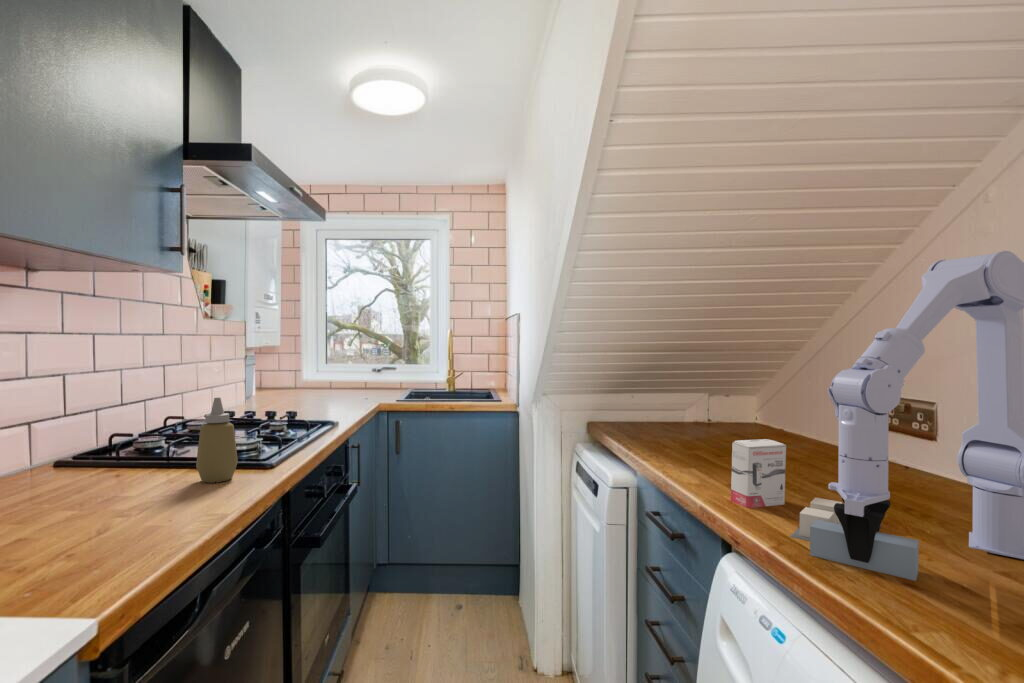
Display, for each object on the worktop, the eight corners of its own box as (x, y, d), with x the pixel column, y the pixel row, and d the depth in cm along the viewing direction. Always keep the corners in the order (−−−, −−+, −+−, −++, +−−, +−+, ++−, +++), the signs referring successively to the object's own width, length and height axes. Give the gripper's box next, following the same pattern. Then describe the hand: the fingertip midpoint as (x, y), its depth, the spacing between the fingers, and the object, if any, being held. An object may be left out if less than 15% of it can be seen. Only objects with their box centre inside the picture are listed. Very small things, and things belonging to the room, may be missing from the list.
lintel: (816, 550, 78) (816, 519, 78) (918, 573, 70) (918, 540, 70) (810, 558, 75) (810, 526, 75) (916, 583, 67) (916, 548, 67)
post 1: (842, 523, 88) (842, 502, 88) (837, 529, 85) (837, 507, 85) (815, 517, 91) (815, 497, 91) (809, 523, 88) (810, 502, 88)
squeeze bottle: (201, 476, 118) (201, 396, 118) (241, 474, 120) (241, 395, 120) (191, 486, 110) (191, 400, 110) (234, 483, 113) (234, 399, 113)
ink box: (748, 511, 96) (748, 445, 96) (729, 502, 100) (730, 440, 100) (787, 506, 98) (787, 443, 98) (767, 499, 103) (767, 438, 103)
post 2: (834, 534, 83) (834, 512, 83) (828, 541, 80) (828, 518, 80) (805, 528, 86) (805, 507, 86) (799, 535, 83) (799, 513, 83)
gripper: (839, 444, 81) (838, 533, 81) (818, 460, 70) (817, 563, 70) (896, 451, 76) (895, 545, 76) (883, 469, 65) (882, 579, 65)
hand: (862, 555), depth 72 cm, fingers closed on lintel, 4 cm apart
